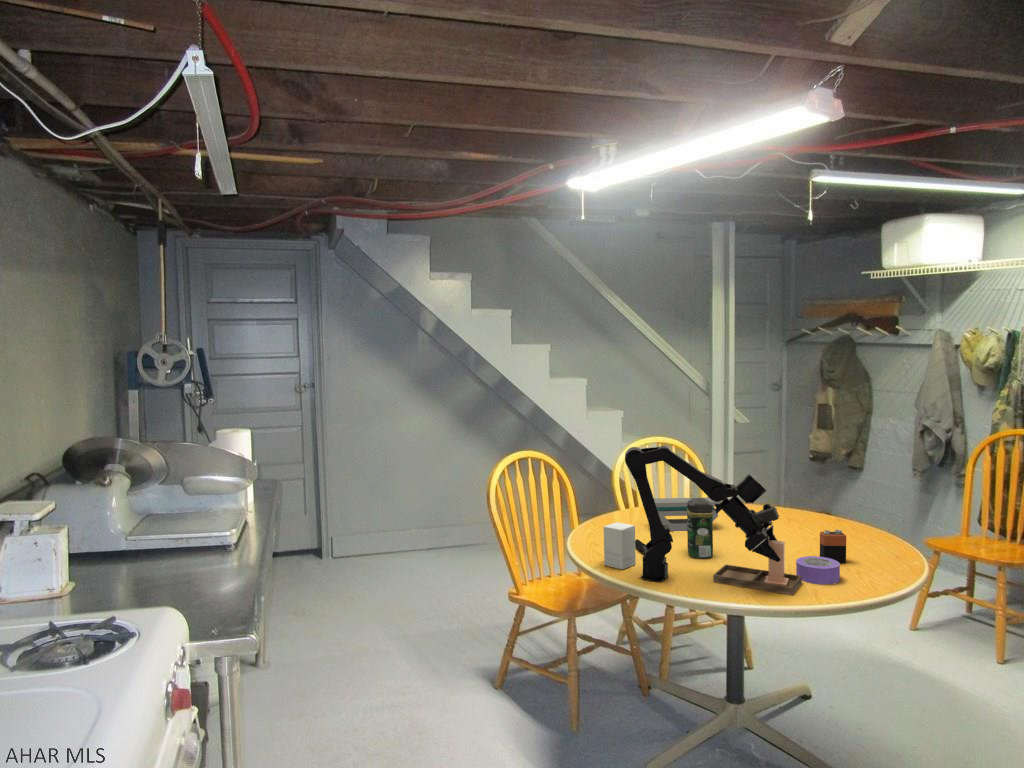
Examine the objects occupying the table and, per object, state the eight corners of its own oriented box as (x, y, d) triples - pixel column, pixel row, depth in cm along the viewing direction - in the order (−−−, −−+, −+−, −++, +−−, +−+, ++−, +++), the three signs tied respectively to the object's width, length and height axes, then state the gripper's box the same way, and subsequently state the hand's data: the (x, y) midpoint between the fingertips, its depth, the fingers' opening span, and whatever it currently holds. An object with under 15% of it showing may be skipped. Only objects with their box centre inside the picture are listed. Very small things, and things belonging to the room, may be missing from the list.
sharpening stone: (714, 525, 272) (714, 497, 271) (721, 530, 264) (720, 501, 264) (649, 526, 272) (649, 498, 271) (653, 532, 264) (653, 503, 263)
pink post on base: (764, 585, 202) (764, 543, 202) (766, 579, 208) (766, 538, 207) (786, 588, 200) (786, 545, 199) (788, 581, 205) (788, 540, 204)
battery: (846, 563, 223) (846, 532, 222) (824, 563, 223) (824, 532, 223) (841, 559, 227) (841, 528, 226) (819, 559, 227) (819, 528, 227)
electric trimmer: (642, 547, 246) (642, 538, 246) (658, 559, 231) (658, 550, 230) (632, 548, 245) (631, 539, 245) (647, 560, 230) (647, 550, 230)
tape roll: (804, 585, 204) (804, 568, 204) (790, 572, 216) (790, 555, 216) (846, 585, 204) (846, 567, 203) (830, 572, 215) (830, 555, 215)
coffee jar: (685, 550, 239) (685, 496, 238) (709, 551, 239) (709, 496, 238) (689, 559, 230) (689, 502, 229) (715, 559, 229) (714, 502, 228)
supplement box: (636, 564, 225) (636, 525, 224) (622, 570, 220) (622, 529, 219) (617, 560, 230) (617, 521, 230) (603, 565, 225) (602, 525, 224)
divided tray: (713, 581, 208) (713, 575, 208) (725, 570, 218) (725, 564, 217) (792, 595, 195) (792, 588, 195) (801, 582, 205) (801, 576, 205)
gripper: (757, 503, 196) (800, 547, 191) (764, 490, 212) (804, 530, 208) (727, 528, 199) (769, 572, 195) (737, 514, 216) (775, 554, 212)
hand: (780, 556), depth 203 cm, fingers open, 9 cm apart
